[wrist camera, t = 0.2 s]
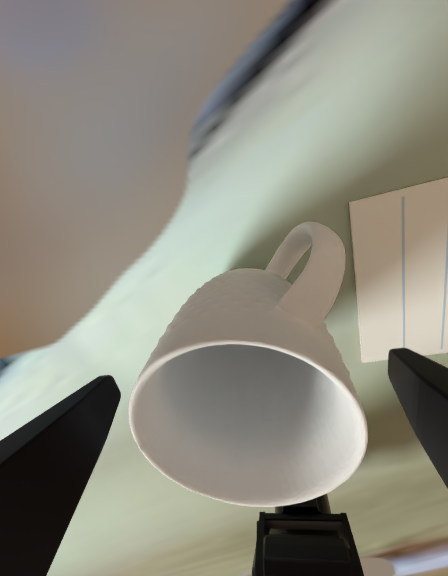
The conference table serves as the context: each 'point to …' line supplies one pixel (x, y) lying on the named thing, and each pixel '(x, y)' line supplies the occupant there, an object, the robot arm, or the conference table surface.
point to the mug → (255, 384)
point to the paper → (402, 270)
